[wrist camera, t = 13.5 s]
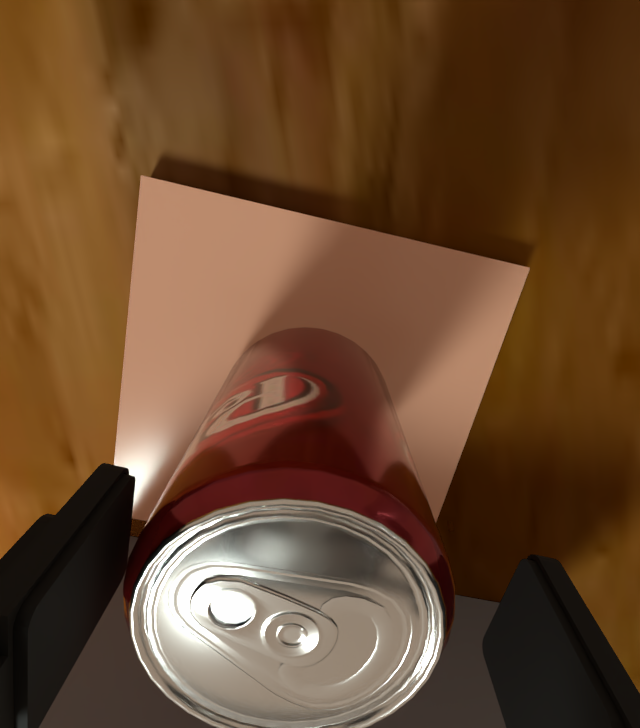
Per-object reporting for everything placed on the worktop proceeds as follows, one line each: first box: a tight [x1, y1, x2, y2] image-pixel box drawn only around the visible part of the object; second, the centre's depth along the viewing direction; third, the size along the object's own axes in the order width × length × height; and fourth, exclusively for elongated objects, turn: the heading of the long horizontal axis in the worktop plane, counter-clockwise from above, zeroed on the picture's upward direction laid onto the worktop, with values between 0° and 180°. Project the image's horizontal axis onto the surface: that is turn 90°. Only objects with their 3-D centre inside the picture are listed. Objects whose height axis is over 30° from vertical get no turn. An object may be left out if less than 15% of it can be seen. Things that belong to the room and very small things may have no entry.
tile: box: [114, 175, 530, 522], centre depth 21 cm, size 16×16×1 cm
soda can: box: [123, 327, 455, 728], centre depth 15 cm, size 7×7×12 cm
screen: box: [39, 536, 506, 728], centre depth 21 cm, size 6×22×12 cm, turn 77°
